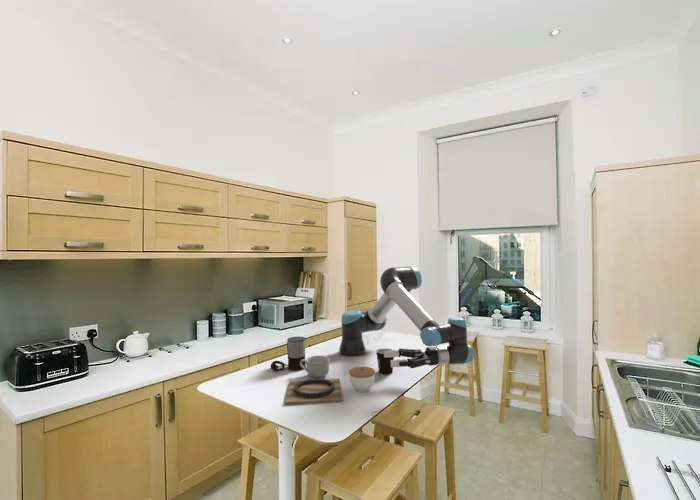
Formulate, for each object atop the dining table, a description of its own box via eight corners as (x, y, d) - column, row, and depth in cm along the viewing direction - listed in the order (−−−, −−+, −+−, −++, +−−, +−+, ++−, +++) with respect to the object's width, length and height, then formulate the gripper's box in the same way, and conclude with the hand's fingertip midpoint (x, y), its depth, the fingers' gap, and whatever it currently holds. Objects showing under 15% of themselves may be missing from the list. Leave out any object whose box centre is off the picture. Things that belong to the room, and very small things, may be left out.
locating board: (289, 383, 152) (289, 377, 152) (339, 380, 154) (339, 375, 154) (285, 405, 130) (284, 398, 130) (342, 401, 132) (342, 395, 132)
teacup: (333, 373, 164) (332, 356, 164) (324, 381, 154) (323, 363, 154) (306, 370, 168) (306, 354, 168) (296, 378, 158) (295, 361, 158)
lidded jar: (356, 396, 137) (355, 372, 137) (345, 386, 147) (345, 365, 147) (379, 391, 141) (379, 368, 141) (368, 382, 151) (367, 361, 151)
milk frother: (310, 367, 173) (309, 337, 173) (285, 376, 161) (285, 344, 161) (291, 362, 182) (290, 334, 182) (267, 370, 170) (266, 340, 170)
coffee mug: (394, 375, 159) (393, 354, 159) (375, 374, 160) (375, 353, 160) (395, 367, 170) (395, 347, 170) (378, 366, 172) (378, 346, 172)
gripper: (447, 374, 134) (394, 378, 132) (427, 356, 159) (382, 359, 157) (446, 355, 134) (393, 358, 132) (426, 340, 159) (381, 342, 157)
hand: (387, 358), depth 144 cm, fingers open, 13 cm apart
